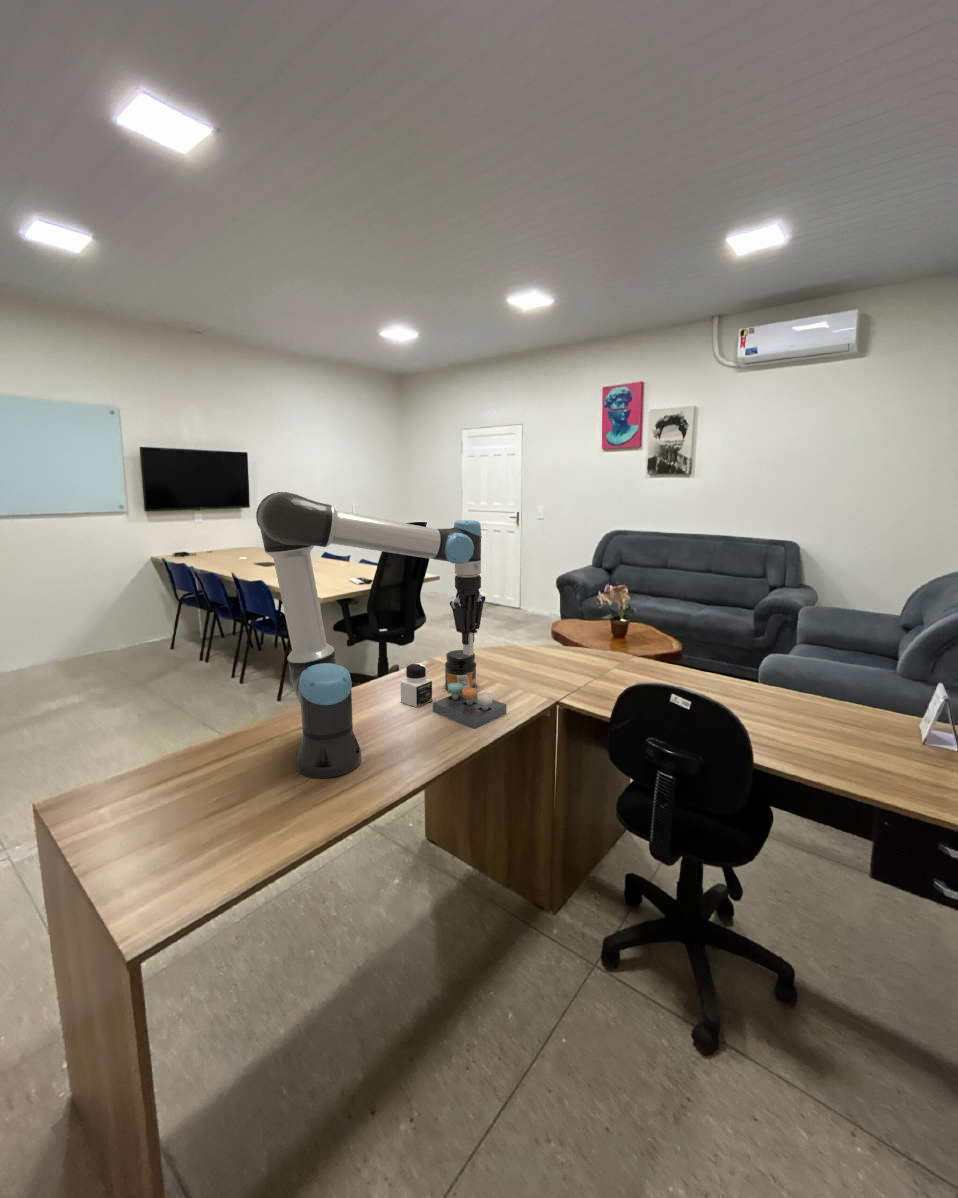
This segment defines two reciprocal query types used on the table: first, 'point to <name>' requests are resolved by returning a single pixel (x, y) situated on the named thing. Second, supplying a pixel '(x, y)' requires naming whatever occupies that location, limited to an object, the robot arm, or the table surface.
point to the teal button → (455, 690)
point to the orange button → (469, 695)
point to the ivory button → (484, 700)
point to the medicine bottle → (416, 686)
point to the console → (468, 711)
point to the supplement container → (460, 669)
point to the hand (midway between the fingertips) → (468, 654)
